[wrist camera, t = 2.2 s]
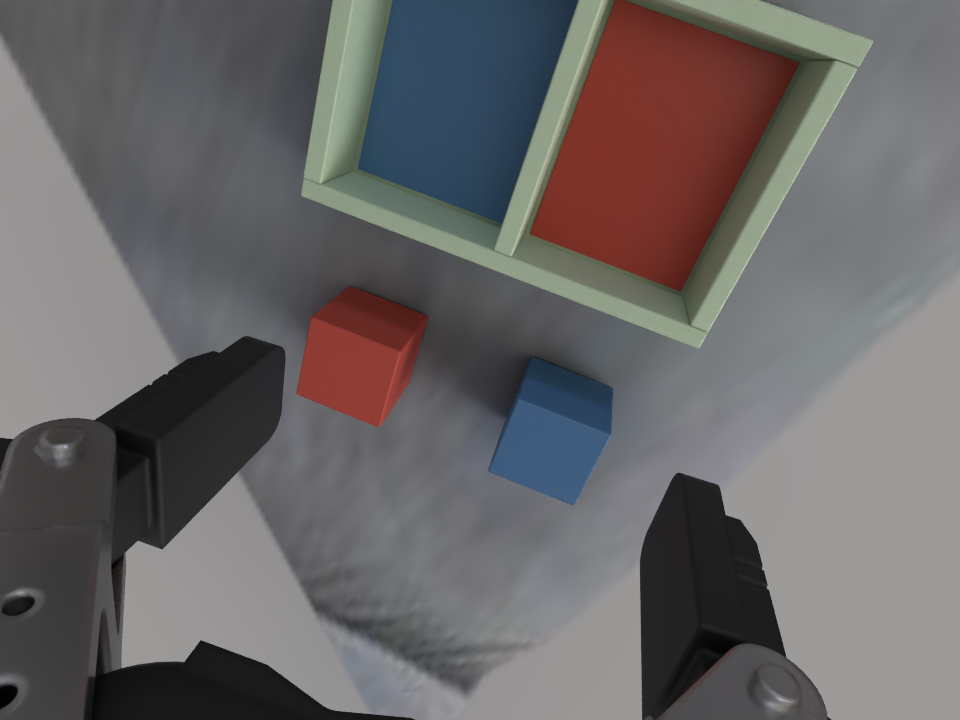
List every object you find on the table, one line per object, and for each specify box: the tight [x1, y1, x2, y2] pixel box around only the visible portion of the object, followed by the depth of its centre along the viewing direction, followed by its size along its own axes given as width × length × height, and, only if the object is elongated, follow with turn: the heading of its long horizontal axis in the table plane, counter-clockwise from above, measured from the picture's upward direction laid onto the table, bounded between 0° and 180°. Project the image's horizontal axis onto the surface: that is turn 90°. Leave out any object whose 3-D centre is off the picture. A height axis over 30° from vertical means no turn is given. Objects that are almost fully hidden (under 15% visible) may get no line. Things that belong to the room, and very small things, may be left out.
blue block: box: [488, 357, 613, 505], centre depth 30 cm, size 4×4×4 cm
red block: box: [297, 286, 428, 427], centre depth 30 cm, size 4×4×4 cm
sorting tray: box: [301, 0, 873, 348], centre depth 24 cm, size 18×12×4 cm, turn 72°
